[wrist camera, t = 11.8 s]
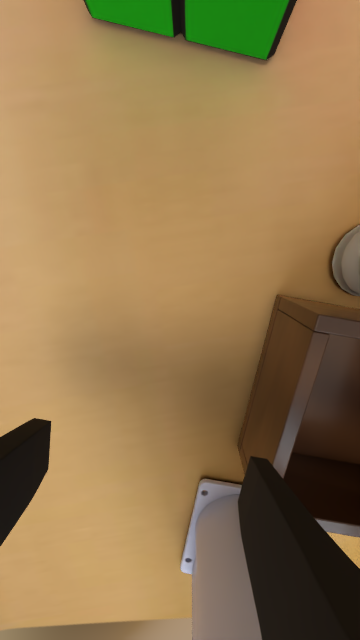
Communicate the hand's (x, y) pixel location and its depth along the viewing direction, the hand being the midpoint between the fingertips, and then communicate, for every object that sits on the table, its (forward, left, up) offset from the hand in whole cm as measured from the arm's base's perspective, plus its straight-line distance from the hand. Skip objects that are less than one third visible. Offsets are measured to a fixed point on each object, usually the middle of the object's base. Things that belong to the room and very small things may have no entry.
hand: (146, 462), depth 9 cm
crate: (0, -11, -9) cm, 14 cm away
